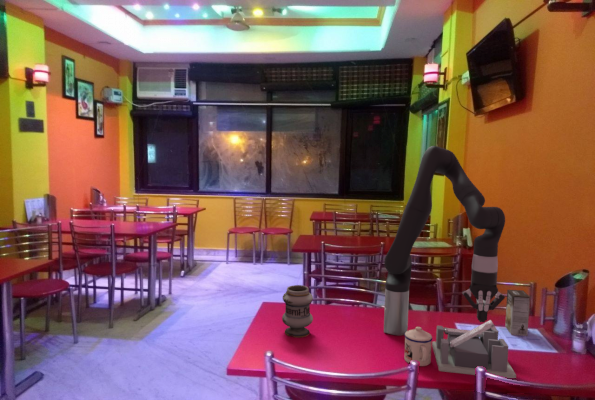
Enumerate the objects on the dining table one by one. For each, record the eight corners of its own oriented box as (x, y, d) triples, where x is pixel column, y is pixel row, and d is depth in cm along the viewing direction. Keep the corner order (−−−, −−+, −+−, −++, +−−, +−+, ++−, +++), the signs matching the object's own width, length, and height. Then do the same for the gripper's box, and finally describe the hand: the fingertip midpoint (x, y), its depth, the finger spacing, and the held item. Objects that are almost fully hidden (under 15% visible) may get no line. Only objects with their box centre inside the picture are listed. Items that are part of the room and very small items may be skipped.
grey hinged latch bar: (444, 336, 149) (444, 330, 149) (443, 332, 152) (443, 327, 152) (491, 341, 146) (492, 335, 146) (489, 337, 149) (489, 331, 149)
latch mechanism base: (438, 370, 136) (440, 341, 135) (432, 345, 156) (433, 319, 155) (515, 379, 131) (517, 348, 131) (498, 351, 151) (500, 324, 150)
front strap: (452, 351, 137) (448, 345, 137) (451, 347, 140) (447, 341, 140) (496, 328, 134) (492, 322, 134) (493, 324, 137) (490, 319, 137)
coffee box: (504, 326, 176) (506, 288, 174) (520, 327, 174) (523, 290, 173) (510, 335, 167) (513, 295, 165) (528, 336, 165) (530, 296, 164)
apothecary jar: (276, 335, 162) (277, 289, 161) (289, 324, 173) (289, 282, 172) (306, 341, 157) (307, 294, 156) (316, 329, 169) (317, 285, 167)
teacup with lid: (400, 354, 147) (401, 322, 146) (426, 354, 148) (427, 322, 147) (410, 371, 135) (412, 336, 135) (438, 371, 136) (440, 336, 135)
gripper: (464, 270, 132) (462, 323, 134) (510, 273, 130) (507, 327, 131) (460, 264, 140) (458, 315, 141) (503, 267, 137) (500, 319, 138)
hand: (481, 321), depth 136 cm, fingers closed
